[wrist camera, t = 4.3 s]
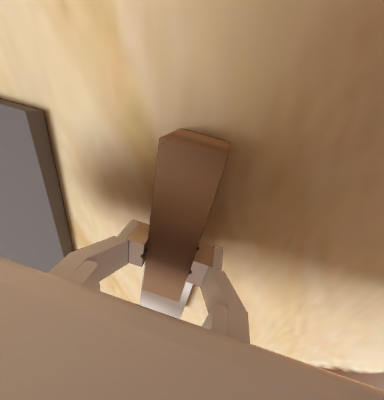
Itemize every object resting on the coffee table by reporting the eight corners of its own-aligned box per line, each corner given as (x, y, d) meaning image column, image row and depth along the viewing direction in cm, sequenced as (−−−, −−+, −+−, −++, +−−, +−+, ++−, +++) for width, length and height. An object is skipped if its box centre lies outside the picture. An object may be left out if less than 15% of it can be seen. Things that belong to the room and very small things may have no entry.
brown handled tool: (167, 125, 9) (141, 133, 6) (242, 145, 9) (247, 162, 6) (145, 292, 17) (129, 326, 15) (183, 305, 17) (174, 341, 14)
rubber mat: (-89, 73, 10) (-117, 70, 10) (42, 110, 10) (25, 111, 9) (20, 281, 22) (12, 288, 21) (84, 304, 21) (78, 312, 20)
